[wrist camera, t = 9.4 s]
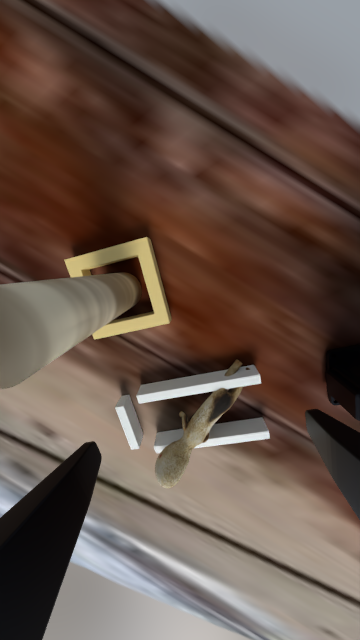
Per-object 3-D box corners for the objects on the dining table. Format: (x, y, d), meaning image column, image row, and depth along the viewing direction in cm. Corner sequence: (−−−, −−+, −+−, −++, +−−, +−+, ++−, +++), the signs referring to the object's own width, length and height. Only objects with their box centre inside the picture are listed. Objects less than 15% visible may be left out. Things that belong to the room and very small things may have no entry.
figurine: (225, 350, 23) (149, 452, 23) (239, 360, 19) (145, 486, 19) (248, 368, 23) (174, 468, 23) (268, 382, 19) (176, 506, 19)
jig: (229, 217, 18) (234, 211, 16) (263, 424, 23) (269, 438, 21) (71, 261, 20) (58, 260, 18) (138, 441, 25) (133, 456, 23)
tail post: (136, 268, 19) (3, 276, 6) (146, 303, 20) (51, 379, 7) (102, 277, 20) (-91, 302, 6) (113, 310, 21) (-35, 396, 7)
